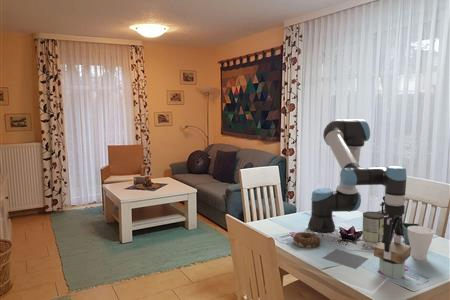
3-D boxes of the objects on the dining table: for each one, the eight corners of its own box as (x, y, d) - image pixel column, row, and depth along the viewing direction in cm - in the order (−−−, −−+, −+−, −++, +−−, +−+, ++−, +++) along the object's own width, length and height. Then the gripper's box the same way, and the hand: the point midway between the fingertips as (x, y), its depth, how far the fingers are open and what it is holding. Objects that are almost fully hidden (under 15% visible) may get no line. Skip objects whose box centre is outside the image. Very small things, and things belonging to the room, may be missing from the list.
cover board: (373, 256, 143) (374, 246, 143) (383, 248, 151) (383, 239, 151) (401, 264, 136) (402, 254, 135) (410, 255, 143) (411, 246, 143)
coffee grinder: (395, 233, 188) (397, 202, 186) (374, 232, 190) (375, 201, 188) (387, 224, 204) (388, 195, 201) (368, 223, 206) (369, 194, 204)
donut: (288, 244, 176) (288, 235, 175) (302, 237, 186) (302, 228, 185) (312, 252, 166) (312, 242, 165) (326, 244, 176) (326, 235, 175)
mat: (322, 259, 158) (322, 258, 158) (336, 250, 168) (336, 248, 168) (355, 270, 147) (355, 268, 147) (368, 259, 157) (368, 258, 157)
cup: (431, 264, 151) (433, 235, 150) (405, 259, 157) (406, 231, 155) (432, 255, 160) (433, 228, 158) (406, 251, 166) (408, 224, 164)
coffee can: (361, 235, 187) (362, 210, 185) (381, 237, 183) (383, 212, 182) (362, 242, 177) (363, 216, 175) (384, 244, 174) (385, 218, 172)
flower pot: (423, 246, 171) (424, 229, 170) (404, 245, 173) (405, 228, 172) (417, 239, 179) (418, 223, 178) (399, 238, 181) (400, 222, 180)
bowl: (376, 272, 144) (377, 259, 143) (384, 265, 151) (384, 252, 150) (399, 280, 138) (399, 266, 137) (406, 272, 144) (407, 258, 144)
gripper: (394, 211, 130) (391, 266, 132) (413, 199, 146) (410, 248, 149) (374, 208, 135) (372, 260, 138) (394, 196, 152) (392, 243, 154)
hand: (392, 254), depth 143 cm, fingers closed on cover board, 11 cm apart
